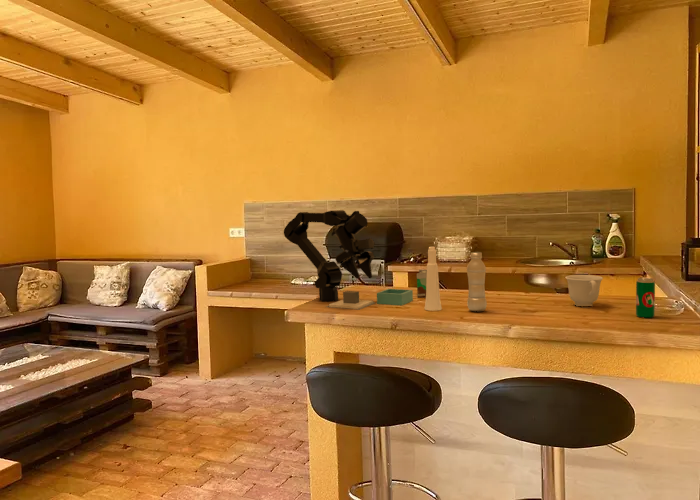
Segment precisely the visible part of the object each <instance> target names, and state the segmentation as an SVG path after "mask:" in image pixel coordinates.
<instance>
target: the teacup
mask: <svg viewBox="0 0 700 500" xmlns="http://www.w3.org/2000/svg"><path fill="white" fill-rule="evenodd" d="M564 278H565V279H566V282H567V287H568V295H569V298H570V300H572V302H574V306H575V305H576V306H575V307H578V306H592V307H594V306H593V304H594V303H595V302H596V301H597V300H598V298H599V294H600V288H601V282H602V281H603V279H604V277H602V276H600V275H593V274H571V275H566V276H565V277H564Z"/></svg>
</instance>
